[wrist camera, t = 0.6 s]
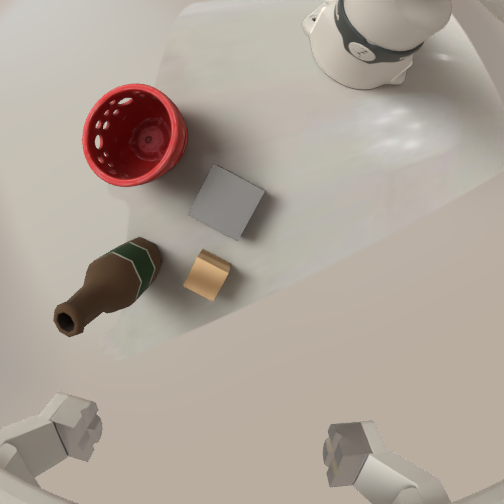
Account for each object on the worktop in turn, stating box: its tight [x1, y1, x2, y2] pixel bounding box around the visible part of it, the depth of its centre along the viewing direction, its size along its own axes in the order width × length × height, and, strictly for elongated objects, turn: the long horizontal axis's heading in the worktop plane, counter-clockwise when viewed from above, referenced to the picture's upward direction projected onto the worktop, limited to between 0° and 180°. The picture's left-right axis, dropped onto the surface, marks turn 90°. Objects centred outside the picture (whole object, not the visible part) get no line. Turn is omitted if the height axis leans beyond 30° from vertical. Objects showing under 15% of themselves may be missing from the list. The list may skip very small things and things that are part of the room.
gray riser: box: [188, 164, 265, 241], centre depth 45 cm, size 8×8×4 cm
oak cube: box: [183, 249, 231, 301], centre depth 48 cm, size 5×5×5 cm
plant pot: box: [82, 84, 188, 187], centre depth 39 cm, size 13×13×12 cm
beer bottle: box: [54, 237, 162, 337], centre depth 38 cm, size 8×8×24 cm
